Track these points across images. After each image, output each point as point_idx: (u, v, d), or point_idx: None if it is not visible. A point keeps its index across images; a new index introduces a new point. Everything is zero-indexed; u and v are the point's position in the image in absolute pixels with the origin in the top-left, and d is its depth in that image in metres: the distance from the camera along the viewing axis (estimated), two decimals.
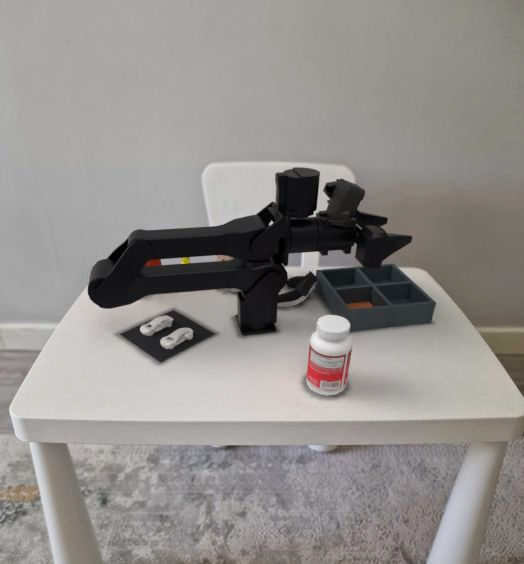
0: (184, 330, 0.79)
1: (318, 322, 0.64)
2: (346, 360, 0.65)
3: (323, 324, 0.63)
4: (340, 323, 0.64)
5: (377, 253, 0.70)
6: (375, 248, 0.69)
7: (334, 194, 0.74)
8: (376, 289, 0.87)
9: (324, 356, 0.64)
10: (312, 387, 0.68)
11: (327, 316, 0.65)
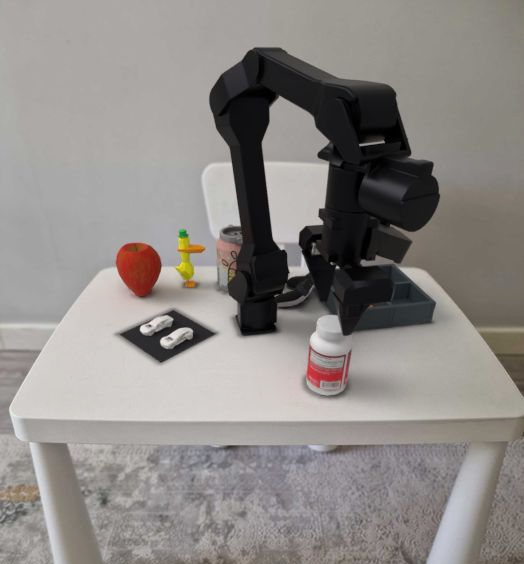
0: (184, 330, 0.79)
1: (318, 322, 0.64)
2: (346, 360, 0.65)
3: (323, 324, 0.63)
4: None
5: (371, 296, 0.51)
6: (379, 292, 0.51)
7: (384, 226, 0.59)
8: None
9: (324, 356, 0.64)
10: (312, 387, 0.68)
11: (327, 316, 0.65)
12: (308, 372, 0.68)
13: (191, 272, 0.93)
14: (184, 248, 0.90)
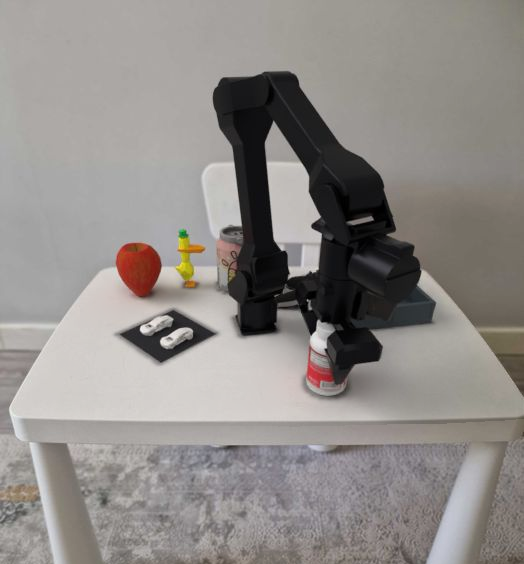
0: (184, 330, 0.79)
1: (318, 322, 0.64)
2: None
3: (323, 324, 0.63)
4: None
5: (360, 357, 0.56)
6: (367, 354, 0.56)
7: None
8: None
9: (324, 356, 0.64)
10: (312, 387, 0.68)
11: None
12: (308, 372, 0.68)
13: (191, 272, 0.93)
14: (184, 248, 0.90)
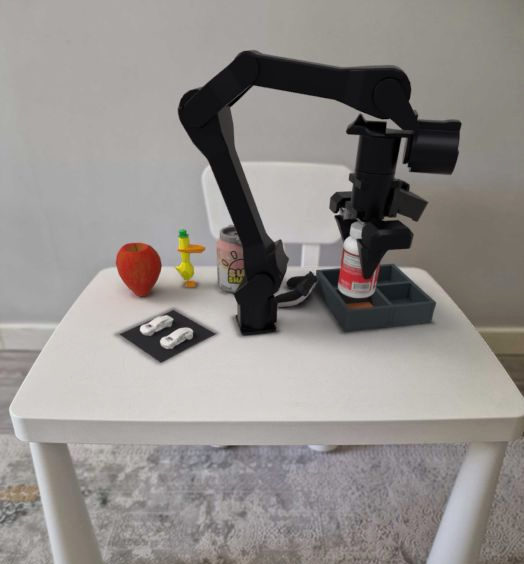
0: (184, 330, 0.79)
1: (352, 225, 0.69)
2: None
3: (357, 226, 0.69)
4: None
5: (393, 243, 0.61)
6: (399, 239, 0.61)
7: (404, 190, 0.69)
8: (376, 289, 0.87)
9: (357, 256, 0.69)
10: (344, 290, 0.74)
11: None
12: (340, 276, 0.74)
13: (191, 272, 0.93)
14: (184, 248, 0.90)
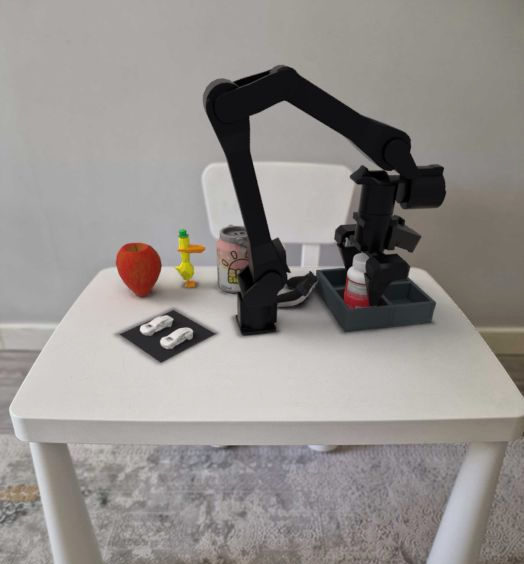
0: (184, 330, 0.79)
1: (354, 257, 0.80)
2: None
3: (359, 258, 0.80)
4: None
5: (393, 274, 0.72)
6: (398, 271, 0.72)
7: (400, 225, 0.79)
8: None
9: (359, 284, 0.80)
10: None
11: (361, 253, 0.81)
12: (345, 301, 0.84)
13: (191, 272, 0.93)
14: (184, 248, 0.90)
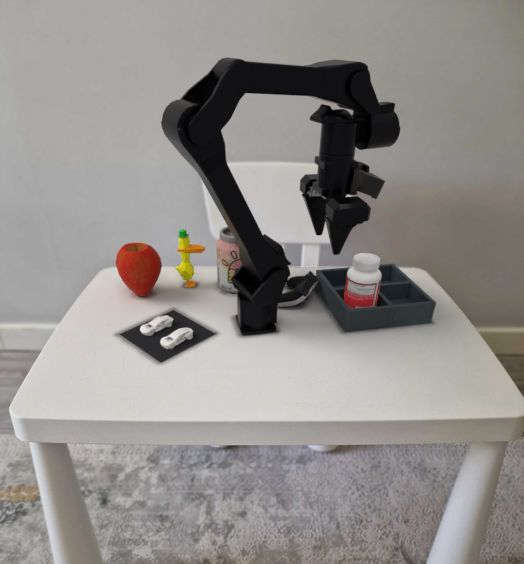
0: (184, 330, 0.79)
1: (354, 257, 0.80)
2: (376, 289, 0.81)
3: (359, 258, 0.80)
4: (372, 258, 0.80)
5: (353, 216, 0.70)
6: (358, 213, 0.70)
7: (364, 171, 0.78)
8: None
9: (359, 284, 0.80)
10: None
11: (361, 253, 0.81)
12: (345, 301, 0.84)
13: (191, 272, 0.93)
14: (184, 248, 0.90)
